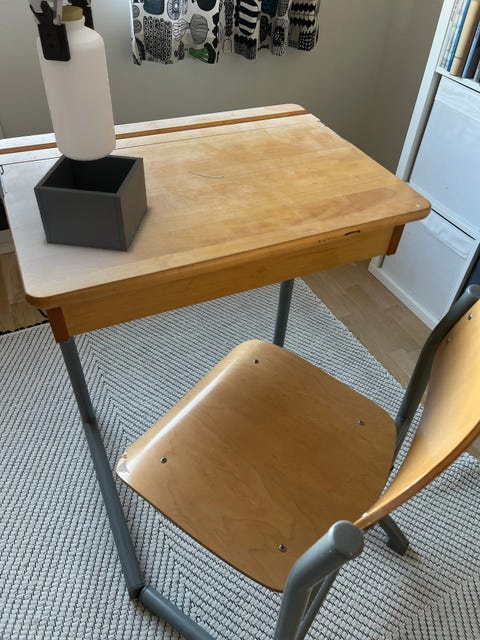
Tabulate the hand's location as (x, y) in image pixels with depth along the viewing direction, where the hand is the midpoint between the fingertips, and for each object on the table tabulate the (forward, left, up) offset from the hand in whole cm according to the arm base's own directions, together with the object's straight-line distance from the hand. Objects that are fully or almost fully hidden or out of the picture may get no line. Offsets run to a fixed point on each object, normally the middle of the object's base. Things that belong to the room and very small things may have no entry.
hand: (71, 49), depth 65 cm
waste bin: (0, 0, -27) cm, 27 cm away
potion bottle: (0, 0, -14) cm, 14 cm away
